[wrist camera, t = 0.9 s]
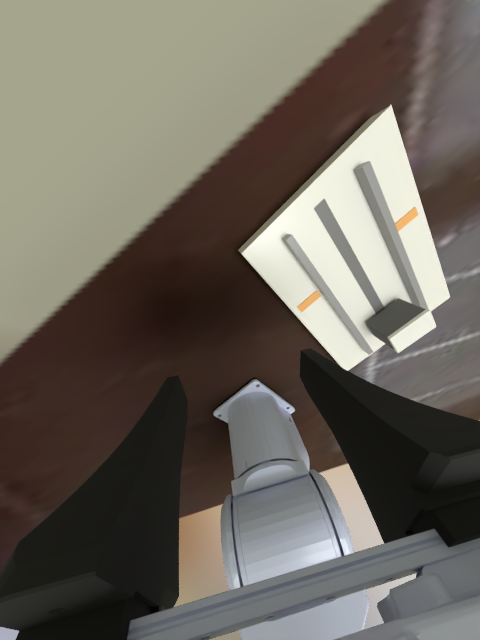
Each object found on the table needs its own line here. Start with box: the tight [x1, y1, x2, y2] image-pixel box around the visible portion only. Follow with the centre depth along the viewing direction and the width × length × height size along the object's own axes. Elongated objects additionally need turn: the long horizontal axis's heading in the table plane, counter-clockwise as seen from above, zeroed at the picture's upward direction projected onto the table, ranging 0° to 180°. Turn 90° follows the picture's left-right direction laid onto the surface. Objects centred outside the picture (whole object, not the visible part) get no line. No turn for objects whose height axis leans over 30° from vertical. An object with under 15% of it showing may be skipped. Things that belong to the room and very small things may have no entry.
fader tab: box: [366, 298, 436, 353], centre depth 20 cm, size 2×4×3 cm, turn 133°
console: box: [238, 105, 450, 371], centre depth 20 cm, size 20×14×3 cm
